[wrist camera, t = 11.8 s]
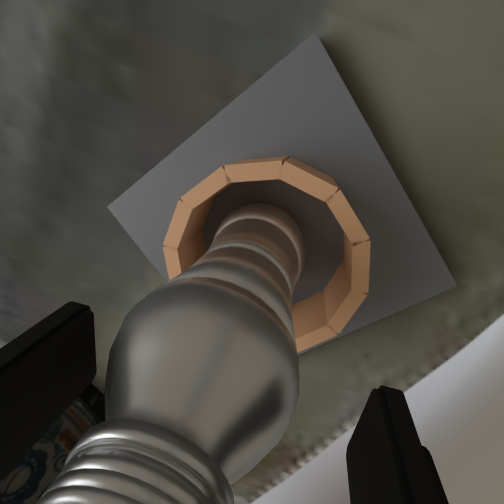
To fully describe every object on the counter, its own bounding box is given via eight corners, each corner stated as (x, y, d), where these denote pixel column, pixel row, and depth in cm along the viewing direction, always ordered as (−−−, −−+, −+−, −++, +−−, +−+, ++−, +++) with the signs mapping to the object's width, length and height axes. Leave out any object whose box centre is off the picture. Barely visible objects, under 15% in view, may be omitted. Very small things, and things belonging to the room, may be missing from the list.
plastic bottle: (279, 181, 22) (115, 396, 3) (321, 258, 23) (362, 699, 5) (209, 221, 24) (-128, 489, 6) (251, 290, 25) (96, 683, 7)
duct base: (314, 39, 20) (316, -5, 14) (449, 277, 24) (496, 324, 18) (117, 203, 27) (61, 221, 21) (246, 368, 30) (229, 424, 24)
